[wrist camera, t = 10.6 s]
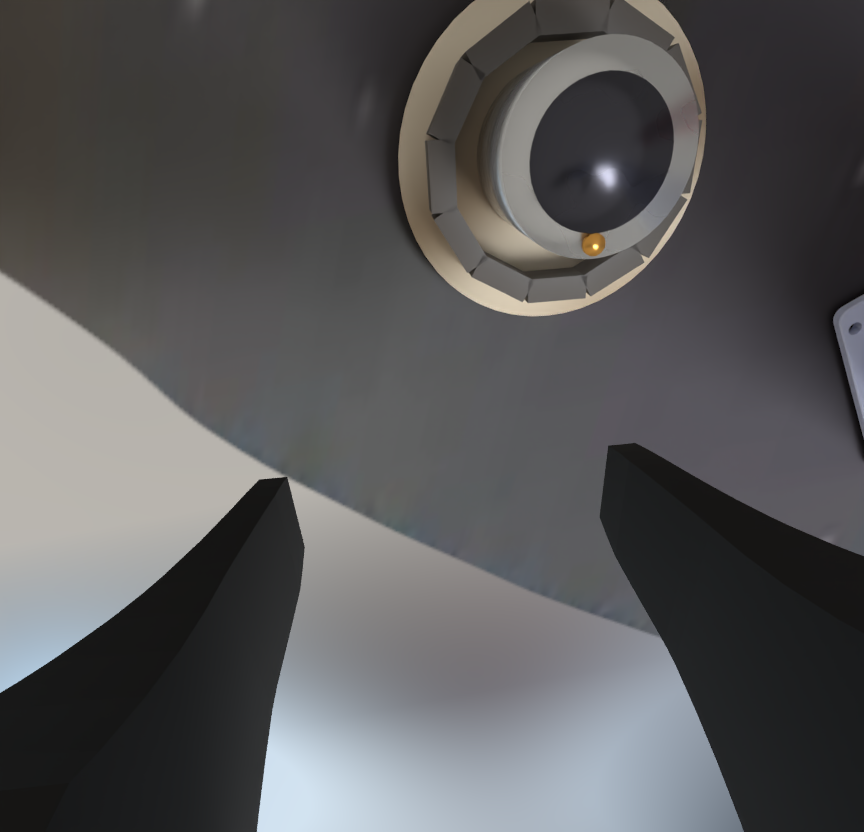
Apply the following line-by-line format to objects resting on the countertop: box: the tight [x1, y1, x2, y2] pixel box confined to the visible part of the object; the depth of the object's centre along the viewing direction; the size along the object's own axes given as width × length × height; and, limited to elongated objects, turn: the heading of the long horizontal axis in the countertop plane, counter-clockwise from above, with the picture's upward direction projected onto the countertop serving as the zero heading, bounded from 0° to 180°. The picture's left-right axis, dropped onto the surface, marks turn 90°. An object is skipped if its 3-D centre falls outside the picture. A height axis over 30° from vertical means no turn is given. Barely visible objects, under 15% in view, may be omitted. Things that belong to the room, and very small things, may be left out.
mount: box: [398, 0, 706, 316], centre depth 16 cm, size 10×10×2 cm
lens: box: [477, 34, 699, 259], centre depth 14 cm, size 5×5×4 cm
